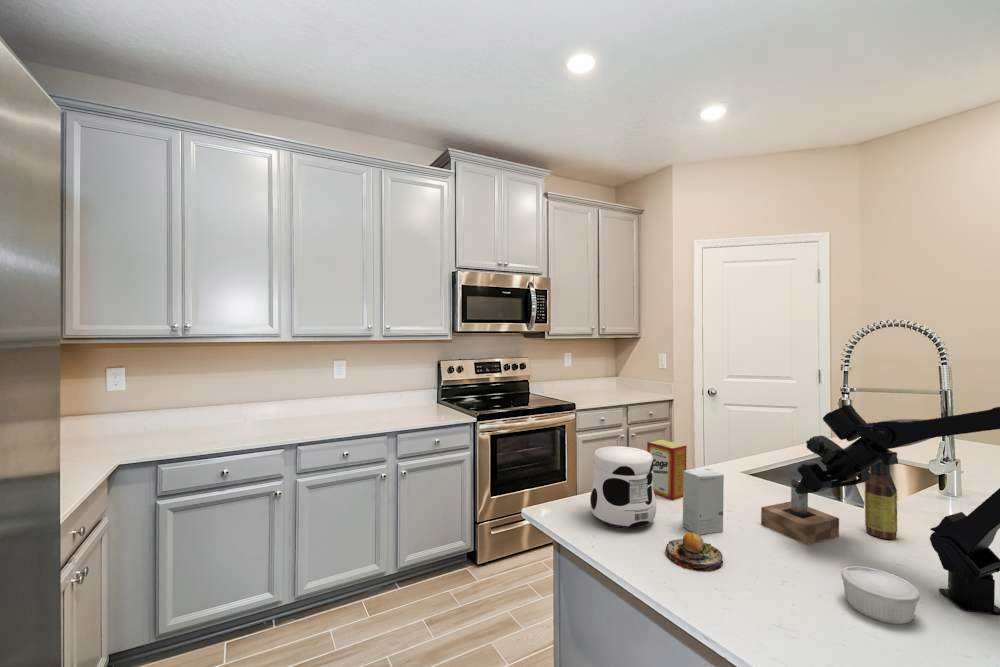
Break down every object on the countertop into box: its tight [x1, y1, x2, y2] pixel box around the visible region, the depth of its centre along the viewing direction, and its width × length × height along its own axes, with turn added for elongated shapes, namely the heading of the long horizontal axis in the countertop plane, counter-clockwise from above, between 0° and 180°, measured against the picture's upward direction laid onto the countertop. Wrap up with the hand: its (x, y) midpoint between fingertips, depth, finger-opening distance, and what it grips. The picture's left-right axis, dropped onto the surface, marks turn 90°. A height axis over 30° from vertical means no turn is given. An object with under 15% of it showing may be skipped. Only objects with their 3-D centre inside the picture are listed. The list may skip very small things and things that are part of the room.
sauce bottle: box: [864, 460, 898, 540], centre depth 114 cm, size 7×6×20 cm
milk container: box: [589, 445, 657, 529], centre depth 122 cm, size 17×17×18 cm
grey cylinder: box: [789, 476, 809, 519], centre depth 116 cm, size 4×4×13 cm
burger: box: [665, 531, 724, 572], centre depth 103 cm, size 12×12×8 cm
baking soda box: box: [646, 439, 687, 501], centre depth 142 cm, size 10×6×16 cm
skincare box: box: [682, 468, 725, 536], centre depth 117 cm, size 8×6×15 cm
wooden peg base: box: [760, 500, 840, 546], centre depth 116 cm, size 12×12×4 cm
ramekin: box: [840, 565, 920, 625], centre depth 84 cm, size 11×11×5 cm
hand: (809, 489), depth 114 cm, fingers open, 9 cm apart
